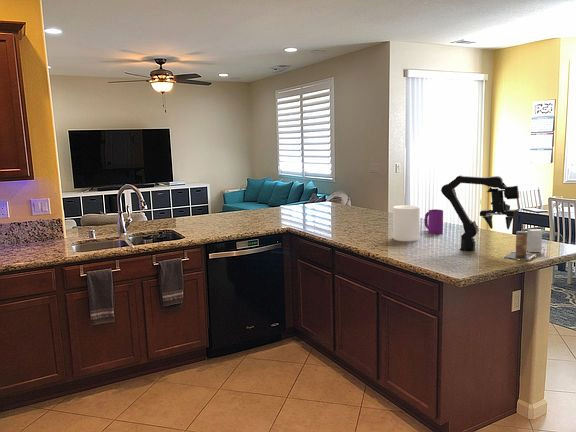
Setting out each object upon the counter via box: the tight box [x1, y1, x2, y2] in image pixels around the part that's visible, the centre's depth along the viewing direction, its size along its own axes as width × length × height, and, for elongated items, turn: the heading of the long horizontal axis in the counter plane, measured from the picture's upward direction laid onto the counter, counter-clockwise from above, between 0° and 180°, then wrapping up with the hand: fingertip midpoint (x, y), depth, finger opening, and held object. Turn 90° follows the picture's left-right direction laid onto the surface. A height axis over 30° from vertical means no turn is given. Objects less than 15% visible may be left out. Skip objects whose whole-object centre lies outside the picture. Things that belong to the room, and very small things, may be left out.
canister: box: [392, 204, 421, 242], centre depth 295 cm, size 16×16×20 cm
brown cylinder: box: [515, 230, 528, 258], centre depth 239 cm, size 5×5×13 cm
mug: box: [424, 208, 444, 235], centre depth 313 cm, size 9×16×15 cm, turn 22°
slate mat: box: [503, 250, 537, 262], centre depth 242 cm, size 12×12×1 cm
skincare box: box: [526, 228, 543, 253], centre depth 252 cm, size 6×4×12 cm
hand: (499, 228), depth 253 cm, fingers open, 9 cm apart
